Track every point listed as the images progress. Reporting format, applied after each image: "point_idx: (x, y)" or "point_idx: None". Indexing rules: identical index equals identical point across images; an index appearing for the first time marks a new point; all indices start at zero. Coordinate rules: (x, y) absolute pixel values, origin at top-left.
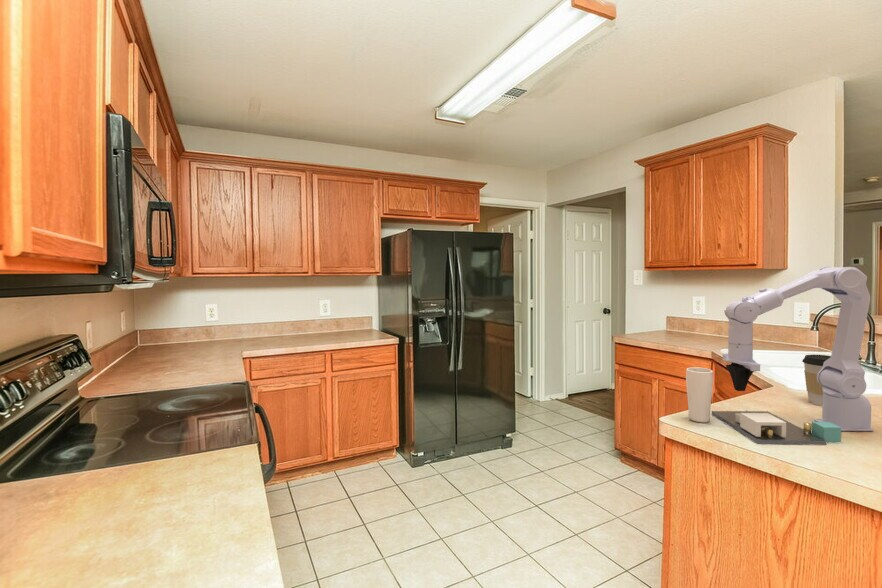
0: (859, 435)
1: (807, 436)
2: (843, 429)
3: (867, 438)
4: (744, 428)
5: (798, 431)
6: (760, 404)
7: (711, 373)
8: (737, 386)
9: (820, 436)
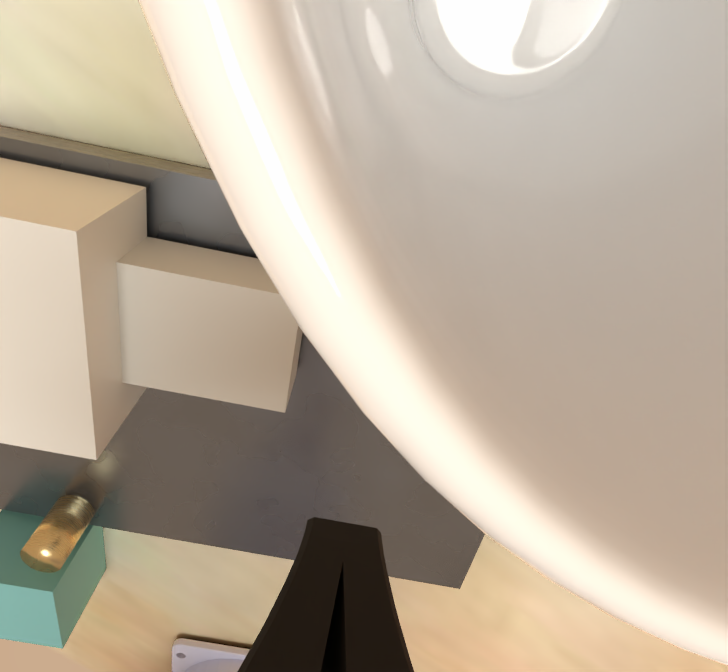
0: (130, 661)
1: (14, 471)
2: (172, 662)
3: (96, 658)
4: (73, 174)
5: (97, 488)
6: (623, 648)
7: (283, 247)
8: (289, 574)
9: (21, 522)
